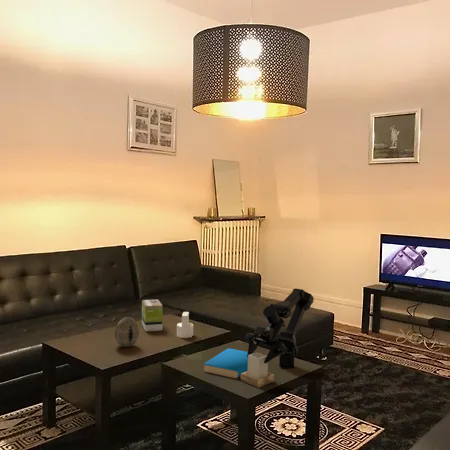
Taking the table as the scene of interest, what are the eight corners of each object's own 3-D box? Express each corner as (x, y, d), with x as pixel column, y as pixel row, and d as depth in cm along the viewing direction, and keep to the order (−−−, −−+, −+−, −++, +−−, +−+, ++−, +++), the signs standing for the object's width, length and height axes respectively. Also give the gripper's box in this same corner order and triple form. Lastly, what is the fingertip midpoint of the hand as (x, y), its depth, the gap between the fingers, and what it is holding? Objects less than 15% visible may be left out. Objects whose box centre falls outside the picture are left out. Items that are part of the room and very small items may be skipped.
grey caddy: (256, 374, 212) (257, 352, 211) (267, 378, 208) (268, 355, 207) (247, 378, 208) (248, 355, 207) (258, 382, 204) (259, 358, 203)
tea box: (141, 324, 288) (141, 299, 287) (158, 323, 291) (158, 298, 290) (144, 331, 274) (145, 305, 273) (162, 330, 277) (163, 304, 276)
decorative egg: (112, 344, 249) (112, 315, 248) (134, 341, 255) (135, 313, 254) (118, 351, 239) (118, 321, 238) (141, 348, 244) (142, 319, 243)
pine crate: (255, 374, 215) (256, 368, 215) (274, 381, 208) (274, 374, 208) (240, 380, 208) (240, 373, 207) (258, 387, 201) (259, 380, 201)
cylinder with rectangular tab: (192, 338, 264) (193, 316, 263) (175, 337, 264) (176, 315, 264) (193, 333, 273) (194, 312, 272) (177, 332, 273) (178, 311, 273)
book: (203, 363, 217) (227, 347, 239) (203, 373, 217) (227, 356, 239) (239, 370, 209) (260, 353, 232) (238, 380, 210) (260, 362, 232)
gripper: (249, 314, 215) (231, 344, 208) (283, 323, 202) (265, 355, 195) (259, 328, 221) (242, 358, 214) (293, 338, 209) (276, 370, 201)
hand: (256, 360), depth 206 cm, fingers open, 9 cm apart
